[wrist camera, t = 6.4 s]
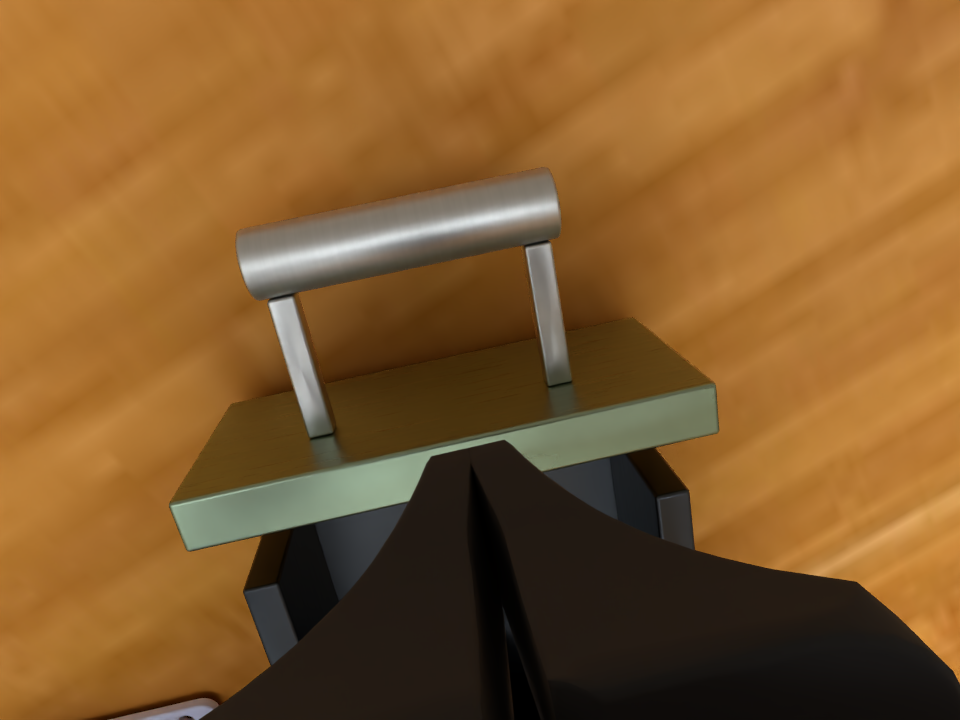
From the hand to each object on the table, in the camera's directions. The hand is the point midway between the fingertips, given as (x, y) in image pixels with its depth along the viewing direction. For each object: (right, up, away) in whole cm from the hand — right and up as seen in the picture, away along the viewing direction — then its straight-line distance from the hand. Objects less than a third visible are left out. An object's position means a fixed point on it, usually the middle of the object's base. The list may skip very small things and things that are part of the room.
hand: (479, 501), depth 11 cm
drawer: (0, -2, +9) cm, 10 cm away
